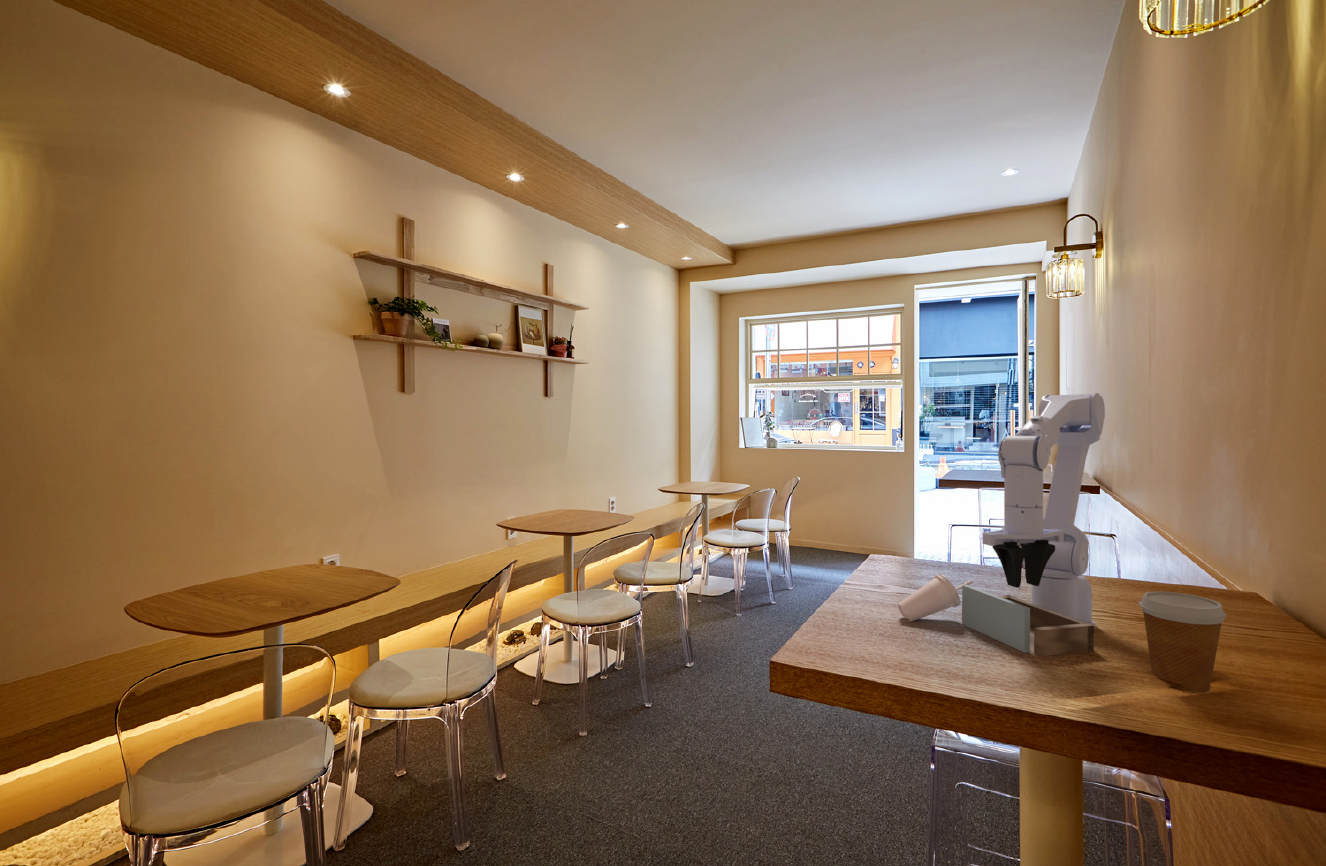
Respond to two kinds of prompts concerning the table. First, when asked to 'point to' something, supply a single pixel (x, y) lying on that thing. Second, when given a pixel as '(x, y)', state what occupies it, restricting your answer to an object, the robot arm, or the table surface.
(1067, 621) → the box
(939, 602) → the smoothie
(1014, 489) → the robot arm
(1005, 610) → the panel
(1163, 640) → the disposable coffee cup
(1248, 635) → the table surface
